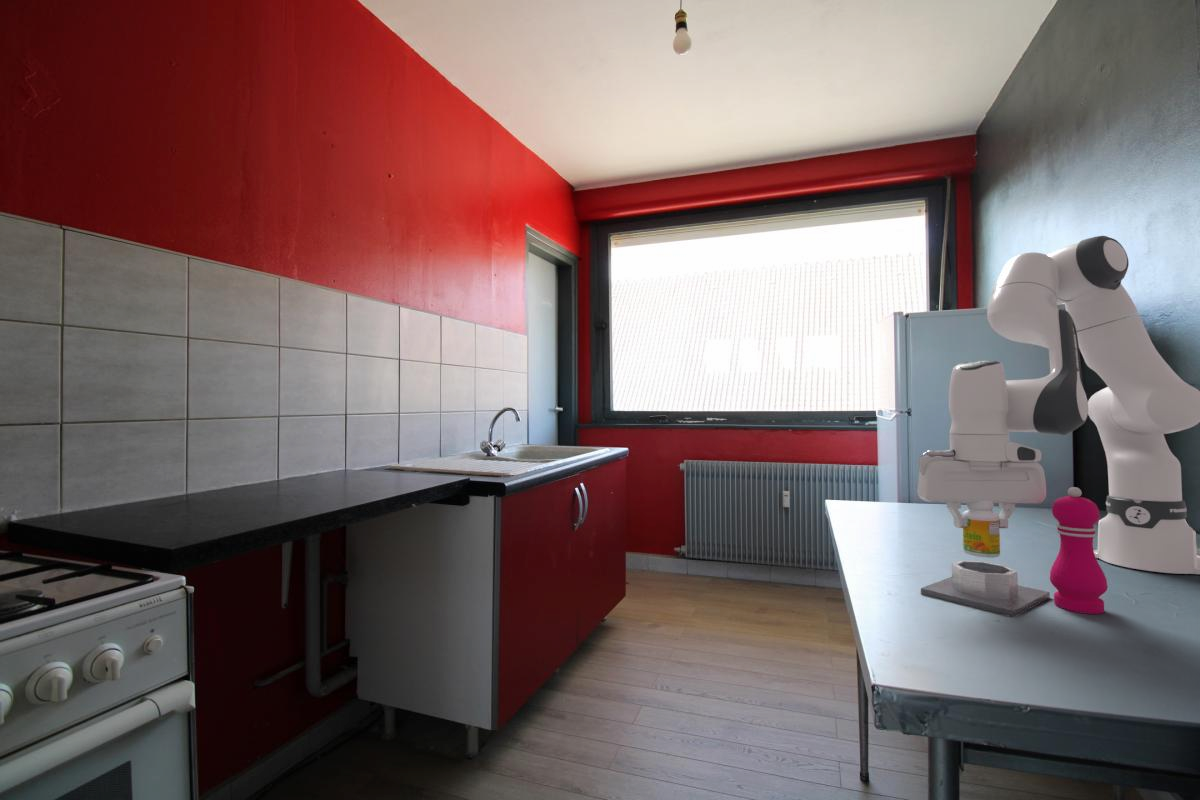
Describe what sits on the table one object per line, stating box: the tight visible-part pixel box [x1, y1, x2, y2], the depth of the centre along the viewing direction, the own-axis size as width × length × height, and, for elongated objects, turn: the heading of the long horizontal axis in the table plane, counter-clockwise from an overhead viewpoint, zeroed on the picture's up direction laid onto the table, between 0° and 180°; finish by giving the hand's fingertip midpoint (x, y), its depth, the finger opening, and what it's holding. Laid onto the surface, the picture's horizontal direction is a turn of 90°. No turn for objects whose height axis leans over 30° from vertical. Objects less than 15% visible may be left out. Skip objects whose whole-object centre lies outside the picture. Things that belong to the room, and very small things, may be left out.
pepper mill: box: [1049, 486, 1108, 615], centre depth 90 cm, size 7×7×20 cm
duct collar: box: [920, 560, 1051, 618], centre depth 96 cm, size 16×14×5 cm
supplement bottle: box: [962, 501, 1001, 559], centre depth 97 cm, size 5×5×10 cm
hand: (980, 527), depth 97 cm, fingers closed on supplement bottle, 5 cm apart
